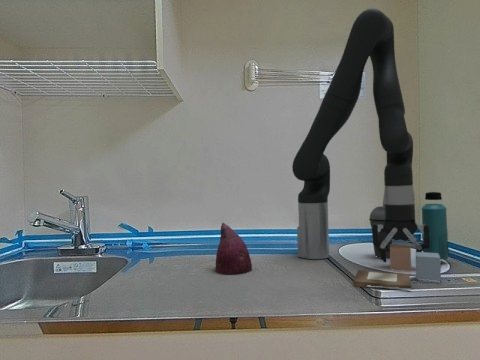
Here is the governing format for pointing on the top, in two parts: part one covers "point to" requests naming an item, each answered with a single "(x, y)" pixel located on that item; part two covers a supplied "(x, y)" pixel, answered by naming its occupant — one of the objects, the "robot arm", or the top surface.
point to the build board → (381, 279)
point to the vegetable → (232, 253)
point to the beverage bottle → (436, 226)
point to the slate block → (428, 266)
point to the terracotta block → (400, 257)
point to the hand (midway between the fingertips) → (401, 262)
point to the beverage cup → (379, 218)
